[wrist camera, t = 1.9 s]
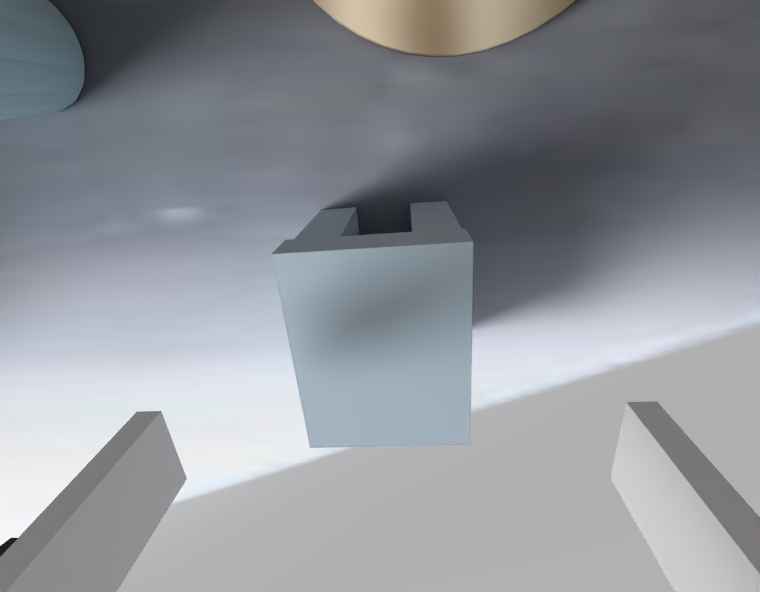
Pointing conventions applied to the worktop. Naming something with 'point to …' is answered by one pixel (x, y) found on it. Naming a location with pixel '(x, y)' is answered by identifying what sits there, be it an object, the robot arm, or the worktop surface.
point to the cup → (37, 59)
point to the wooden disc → (441, 22)
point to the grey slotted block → (380, 328)
